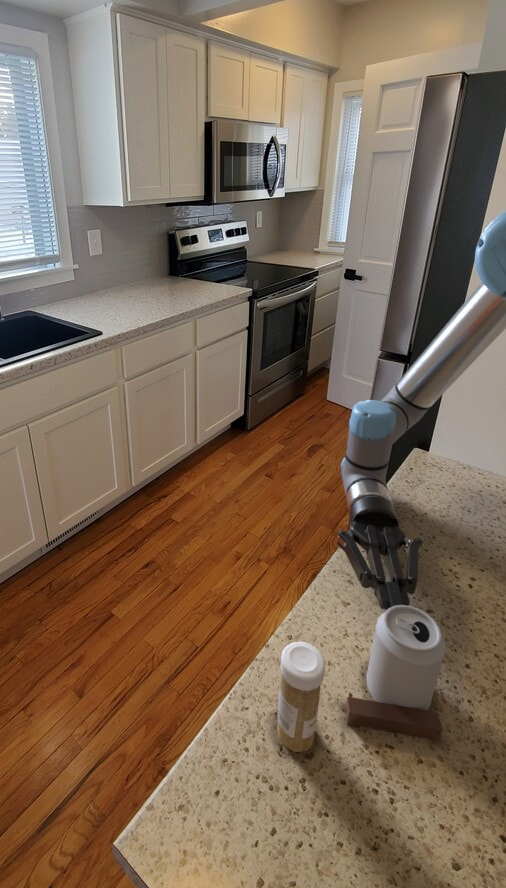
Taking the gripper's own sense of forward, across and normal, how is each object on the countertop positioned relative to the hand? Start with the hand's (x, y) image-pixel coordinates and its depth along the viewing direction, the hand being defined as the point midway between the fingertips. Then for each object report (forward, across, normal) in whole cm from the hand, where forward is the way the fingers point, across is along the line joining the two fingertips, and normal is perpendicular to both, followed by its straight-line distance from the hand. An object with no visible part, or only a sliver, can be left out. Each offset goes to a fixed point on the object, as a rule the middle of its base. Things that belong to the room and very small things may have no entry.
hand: (400, 627), depth 63 cm
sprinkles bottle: (+12, +13, -6) cm, 19 cm away
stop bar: (+10, +2, -6) cm, 11 cm away
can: (+5, 0, -6) cm, 8 cm away
